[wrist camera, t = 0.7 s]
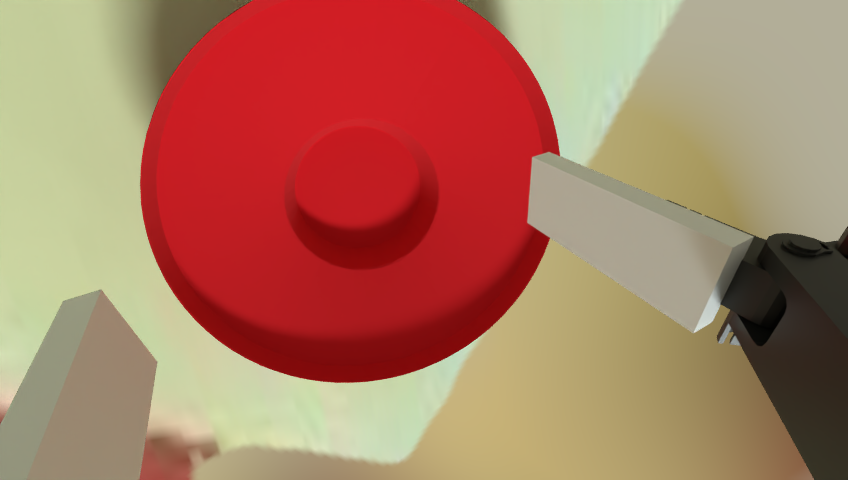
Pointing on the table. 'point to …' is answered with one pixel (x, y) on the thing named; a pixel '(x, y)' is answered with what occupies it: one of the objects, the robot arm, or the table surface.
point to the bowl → (347, 183)
